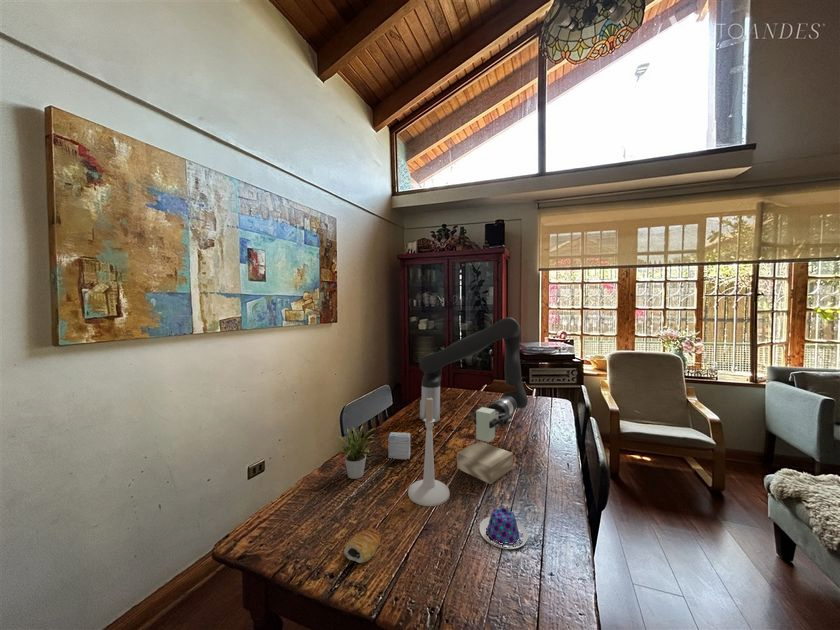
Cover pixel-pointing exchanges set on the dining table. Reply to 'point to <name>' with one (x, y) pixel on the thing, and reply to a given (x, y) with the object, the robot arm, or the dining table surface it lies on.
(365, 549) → the pastry
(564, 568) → the dining table surface
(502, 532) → the pudding
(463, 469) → the oak block
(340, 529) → the dining table surface
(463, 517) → the dining table surface
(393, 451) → the medicine box
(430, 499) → the candlestick
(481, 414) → the pale green block
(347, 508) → the dining table surface
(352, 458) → the house plant
